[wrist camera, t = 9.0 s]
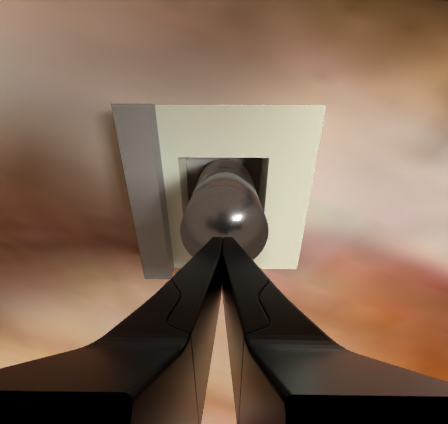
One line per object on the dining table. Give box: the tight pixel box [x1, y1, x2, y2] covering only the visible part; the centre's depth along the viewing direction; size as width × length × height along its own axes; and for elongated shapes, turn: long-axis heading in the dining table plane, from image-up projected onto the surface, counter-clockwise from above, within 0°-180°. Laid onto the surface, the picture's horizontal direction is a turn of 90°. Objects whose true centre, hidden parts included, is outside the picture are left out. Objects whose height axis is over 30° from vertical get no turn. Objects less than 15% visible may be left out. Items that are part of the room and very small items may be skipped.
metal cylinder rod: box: [180, 159, 268, 260], centre depth 13 cm, size 4×4×7 cm
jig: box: [111, 104, 326, 279], centre depth 15 cm, size 11×11×4 cm
